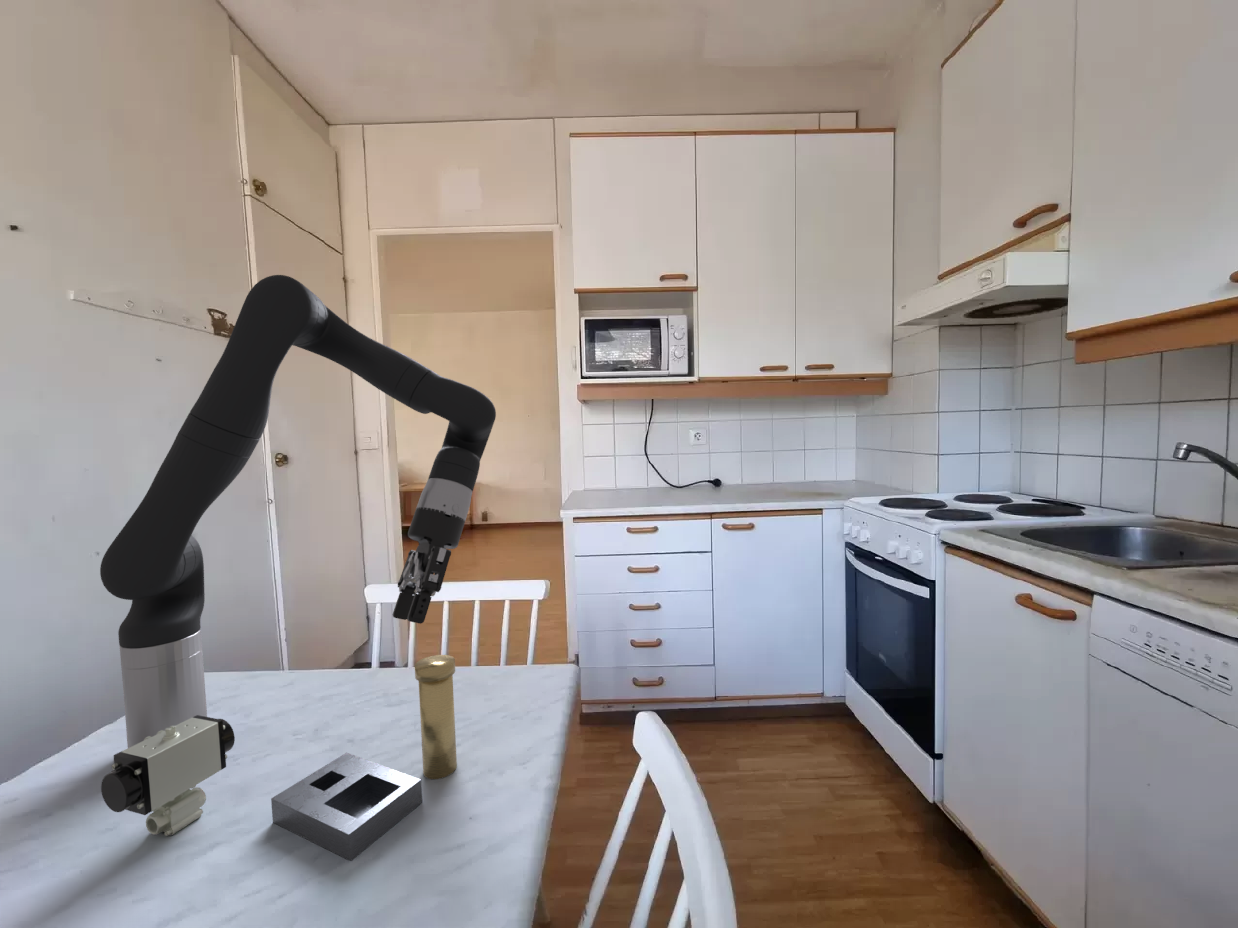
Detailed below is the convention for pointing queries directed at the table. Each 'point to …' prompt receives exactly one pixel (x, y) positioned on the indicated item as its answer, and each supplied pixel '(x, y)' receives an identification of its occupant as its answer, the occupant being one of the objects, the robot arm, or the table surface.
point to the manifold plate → (347, 804)
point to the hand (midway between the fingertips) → (406, 620)
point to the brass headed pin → (437, 715)
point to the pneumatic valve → (169, 773)
